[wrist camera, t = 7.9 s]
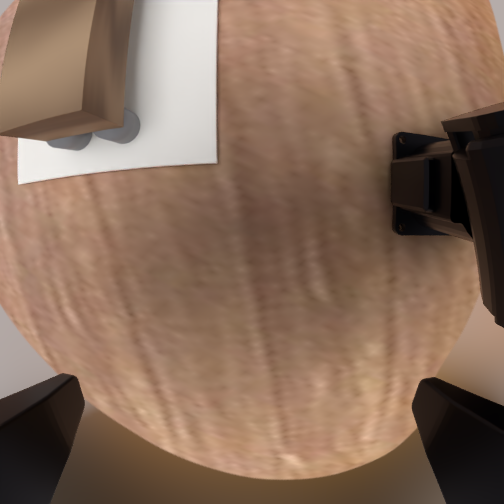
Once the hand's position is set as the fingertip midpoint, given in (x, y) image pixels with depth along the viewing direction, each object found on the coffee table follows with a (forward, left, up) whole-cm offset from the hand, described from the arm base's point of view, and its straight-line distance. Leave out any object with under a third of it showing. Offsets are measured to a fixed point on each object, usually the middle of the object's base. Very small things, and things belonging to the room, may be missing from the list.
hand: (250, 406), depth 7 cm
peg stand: (+9, -14, -12) cm, 21 cm away
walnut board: (+9, -14, -9) cm, 19 cm away
